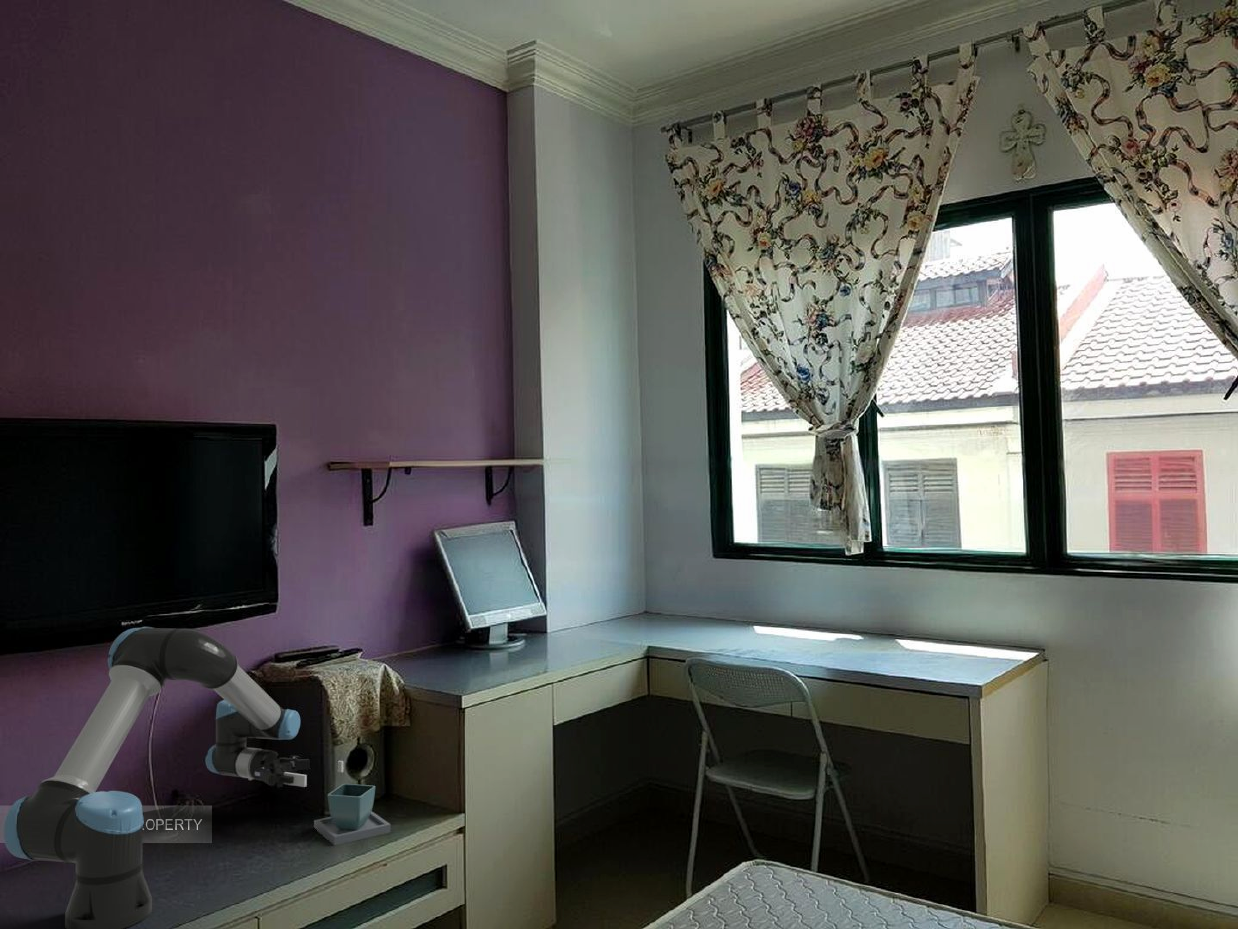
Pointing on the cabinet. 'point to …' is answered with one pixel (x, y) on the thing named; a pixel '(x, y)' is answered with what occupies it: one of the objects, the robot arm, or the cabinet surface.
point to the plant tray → (341, 836)
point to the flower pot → (351, 805)
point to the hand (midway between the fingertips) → (324, 773)
